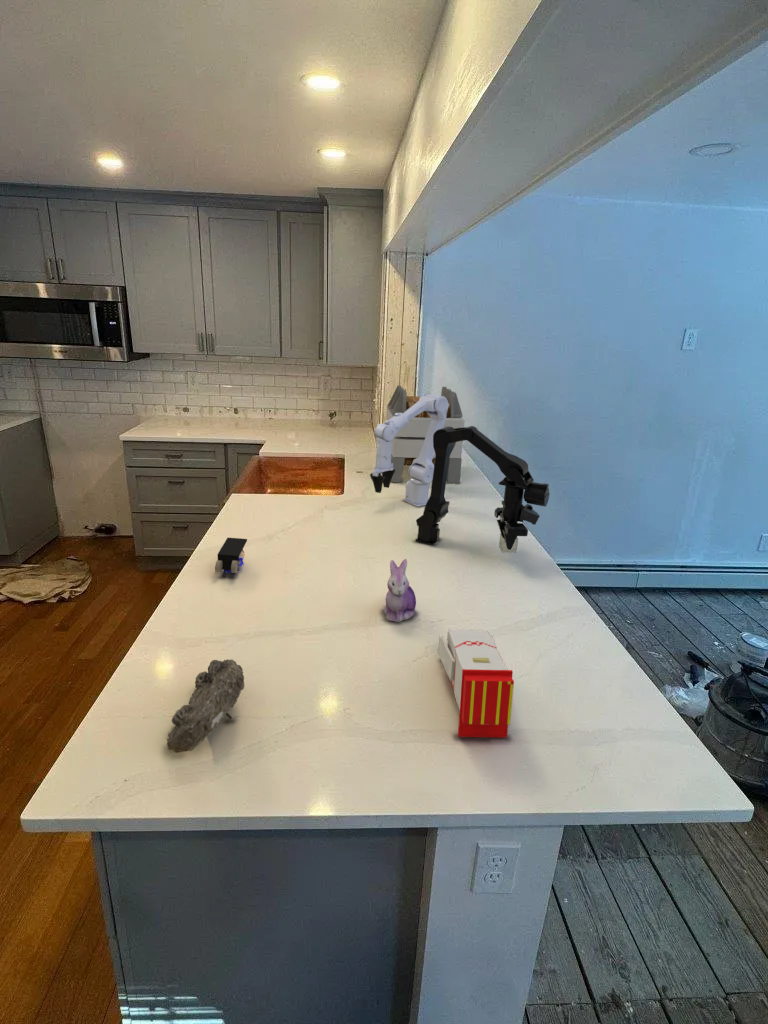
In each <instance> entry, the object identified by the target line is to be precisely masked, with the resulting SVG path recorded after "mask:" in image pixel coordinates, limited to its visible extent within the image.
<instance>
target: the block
mask: <svg viewBox="0 0 768 1024" xmlns="http://www.w3.org/2000/svg"><path fill="white" fill-rule="evenodd" d="M518 544H519V537H517V538H516V540H515V542H514V544H513V546H512V548H511V549H510V550H509V549H507V545H506V541H505V537H504V534H501V533H499V543H498V549H499V550H500V552H501V553H511V554H513V553H515V554H516V553H517V550H518Z"/></svg>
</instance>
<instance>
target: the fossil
mask: <svg viewBox="0 0 768 1024" xmlns="http://www.w3.org/2000/svg"><path fill="white" fill-rule="evenodd" d="M243 670H244V669H243V667H242V665H240V664H237V662H236V661H235V660H234V659H232V658H231V659H227V658H226V659H224V660H223V661H222V660H217V659H212V660H211V661H210V663H209V665H208V666H207V671H201V672H199V673H198V674H197V675H196V676H195V680H194V684H195V685H194V687H195V689H194V690H193V693H192V694H191V697H190V698H189V700H188V704H184V705H182V706H181V707H180V709H177V710H176V711H175V713H174V715H173V716H172V718H171V723H172V724H173V727H172V730H171V731H170V732H168V734H167V738H166V741H167V742H166V745H167V749H168V750H169V751H173V752H174V753H176V754H178V753H182V752H188V751H189V752H192V751H193V750H195V748H196V747H197V746H199V744H200V743H201V742H203V741H204V740H205V739H206V738H207V737H208V736H209V735H210V734H211V733H212V732H214V730H215V729H217V727H218V726H219V724H220V722H221V721H222V720H223V719H224V718H225V716H226V717H227V719H229V720H233V717H232V715H230V714H229V710H230V709H231V708H234V706H235V704H236V703H237V702H238V699H239V697H240V695H241V693H242V691H243V690H245V689H244V688H245V675H244V671H243Z"/></svg>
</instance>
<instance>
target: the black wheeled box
mask: <svg viewBox="0 0 768 1024" xmlns="http://www.w3.org/2000/svg"><path fill="white" fill-rule="evenodd" d="M247 542H248V538H240V537H226V539H225V541H224V543H223V544H222V546H221V547H220V549H219V551H218V552H217V560H216V562H215V564H214V572H215V573H221V577H222V578H224V577H225V576H226V574H227V573H230V574H231V573H232V574H231V578H234V577H235V575H236V573H237V572H239V571H240V567H242V566H243V565H244V564H245V562H244V558H245V551H244V547H245V546H246V544H247Z"/></svg>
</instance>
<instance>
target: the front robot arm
mask: <svg viewBox="0 0 768 1024" xmlns="http://www.w3.org/2000/svg"><path fill="white" fill-rule="evenodd" d="M459 441H463V442H464V441H467V442H468V443H470V444H471V445H472V446H473V447H475V449H477V450H479V451H480V452H481V453H482V454H484V455H485V456H486V457H487V458H489V459H490V460H491V461H492V462H494V463H495V464H496V465H497V467H498V468H499V470H500V472H501V473H502V474H503V476H504V477H503V479H502V480H500V481H499V482H498V485H499V486H504V492H503V493H504V494H503V500H501V505H502V507H500V506H499V507H496V508H495V509H494V517H495V518H496V519H497V520H496V522H497V526H498V529H499V532H500V534H504V537H505V541H506V545H507V549H509V550H510V549H511V548H512V546H513V544H514V542H515V540H516V538H518V537H528V535H529V529H528V528H527V527H526V525H525V524H524V521H525V522H527V523H530V524H531V525H534V526H535V525H536V524H537V523H538V521H539V518H540V517H541V516H540V514H539V513H538V512H537V511H536V510H535V509H534V508H533V506H532V505H535V506H540V507H547V506H548V503H549V499H550V488H549V486H550V484H549V483H545V482H544V483H542V482H535V479H534V478H533V476H532V474H531V472H530V470H529V464H528V463H527V461H526V460H524V459H523V458H520V457H519V456H518V455H515V454H512V453H509V452H507V451H506V450H504V449H503V448H502V447H500V446H499V445H498V444H497V443H495V441H493V440H491V439H490V438H489V437H488V436H487V435H485V434H483V432H481V431H480V430H478V428H477V427H476V426H474V425H470V426H464V427H462V428H455V429H454V428H453V427H450V426H447V427H444V428H442V429H439V430H437V431H436V432H435V433H434V435H433V448H434V451H435V454H436V457H435V464H434V472H433V479H432V481H431V487H430V488H431V489H430V495H429V497H428V502H427V503H426V505H424V506H425V507H424V509H423V513H422V515H421V516H420V517H418V518H416V520H415V523H416V526H417V538H416V539H415V542H417V543H421V544H425V545H430V546H435V544H436V543H437V542H438V541H439V540H440V532H441V528H439V526H440V524H439V522H441V520H442V519H444V518H445V517H446V516H447V514H449V505H450V501H449V500H446V497H445V493H446V487H447V486H446V485H447V481H446V480H447V473H448V466H449V458H450V454H451V452H452V450H453V448H454V446H455V443H456V442H459ZM523 501H524V502H526V504H525V505H524V504H523Z"/></svg>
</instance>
